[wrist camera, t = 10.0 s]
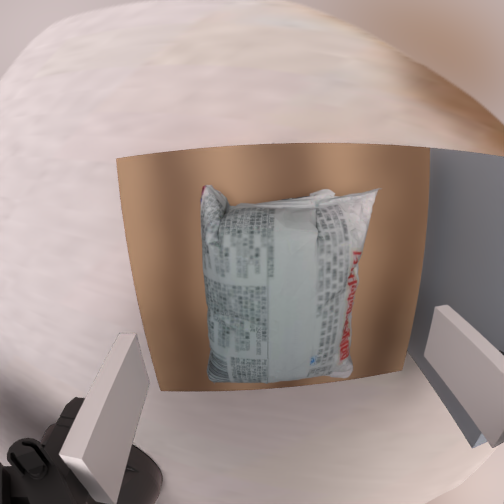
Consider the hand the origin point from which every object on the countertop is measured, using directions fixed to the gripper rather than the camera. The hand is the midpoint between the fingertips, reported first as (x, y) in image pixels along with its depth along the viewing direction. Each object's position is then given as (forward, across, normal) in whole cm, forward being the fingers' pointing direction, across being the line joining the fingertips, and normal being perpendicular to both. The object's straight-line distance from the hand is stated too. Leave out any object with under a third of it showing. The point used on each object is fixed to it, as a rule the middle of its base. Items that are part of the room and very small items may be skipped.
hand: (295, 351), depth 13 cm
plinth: (+9, +1, 0) cm, 9 cm away
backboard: (+9, +12, 0) cm, 15 cm away
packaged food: (+7, +1, 0) cm, 7 cm away
